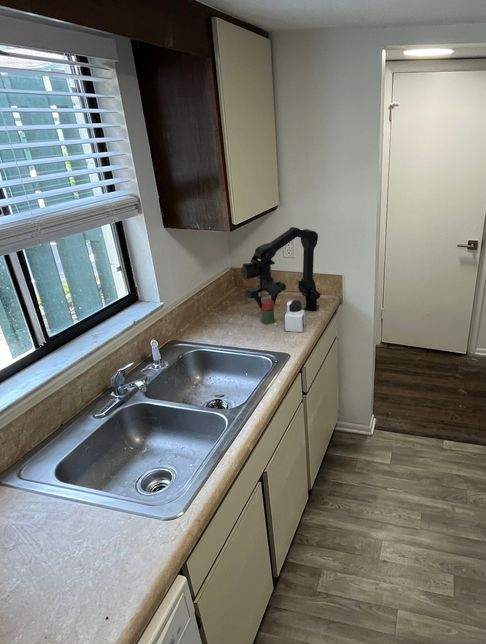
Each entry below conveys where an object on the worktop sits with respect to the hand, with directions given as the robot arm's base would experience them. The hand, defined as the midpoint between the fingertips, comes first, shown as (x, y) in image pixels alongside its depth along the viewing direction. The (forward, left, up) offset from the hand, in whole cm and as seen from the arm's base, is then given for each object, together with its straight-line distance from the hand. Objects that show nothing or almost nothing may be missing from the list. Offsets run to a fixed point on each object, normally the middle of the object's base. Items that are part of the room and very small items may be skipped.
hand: (267, 306), depth 202 cm
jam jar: (0, 0, -7) cm, 7 cm away
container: (+4, +15, -8) cm, 17 cm away
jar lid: (0, 0, 0) cm, 0 cm away
